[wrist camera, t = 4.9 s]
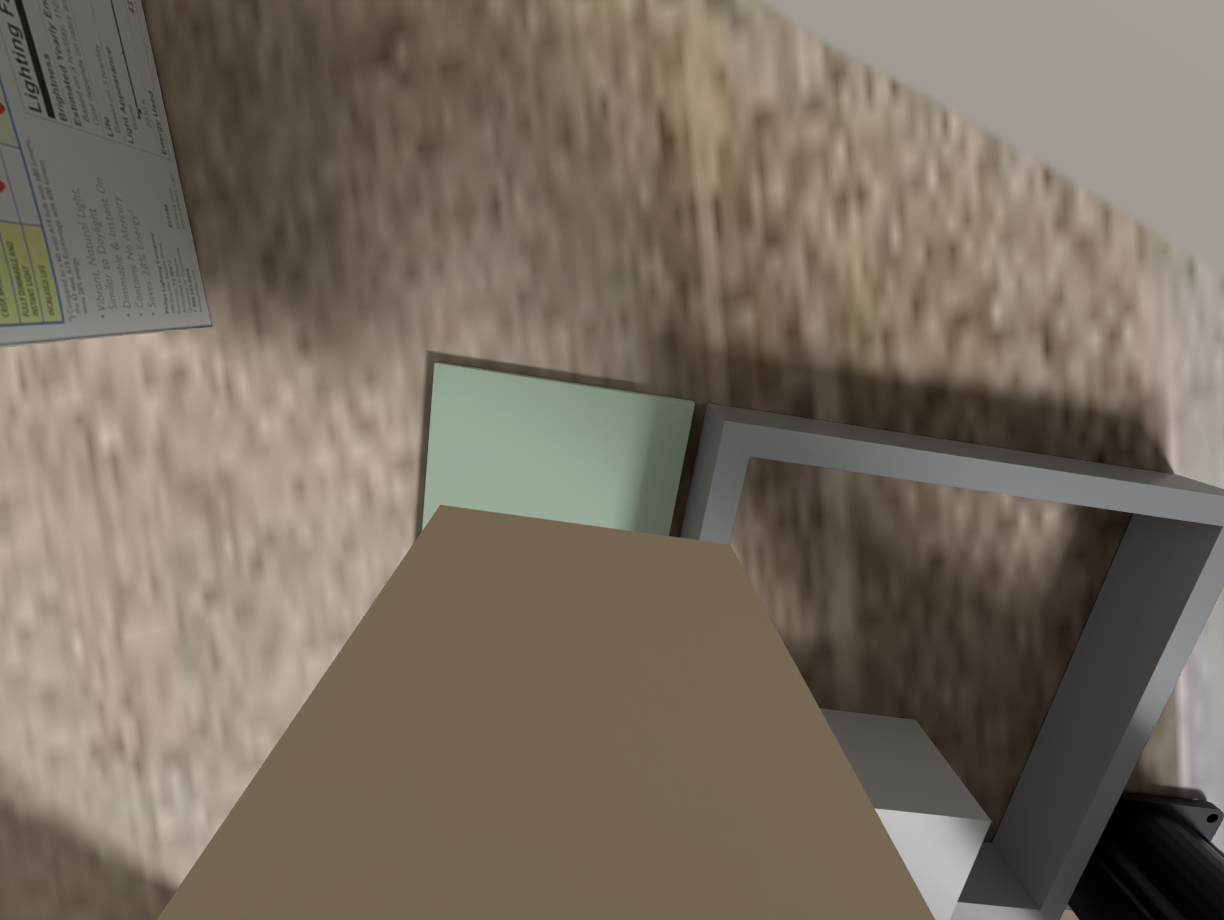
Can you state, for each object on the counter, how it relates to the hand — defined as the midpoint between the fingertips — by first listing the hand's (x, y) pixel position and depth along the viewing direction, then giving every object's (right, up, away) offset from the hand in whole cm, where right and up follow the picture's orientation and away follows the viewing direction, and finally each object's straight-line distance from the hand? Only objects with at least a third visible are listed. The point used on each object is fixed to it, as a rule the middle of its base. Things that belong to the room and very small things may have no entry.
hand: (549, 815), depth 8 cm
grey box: (+11, -8, +17) cm, 21 cm away
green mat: (-1, +4, +13) cm, 14 cm away
